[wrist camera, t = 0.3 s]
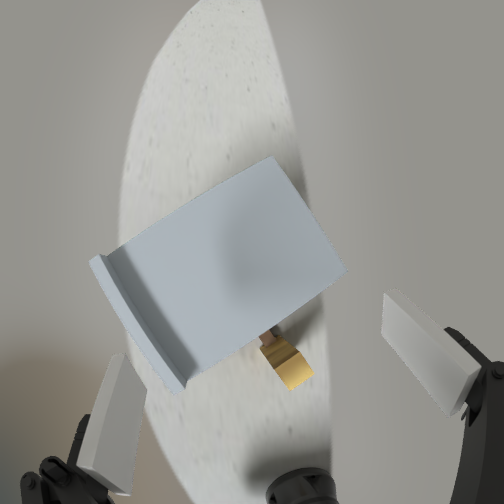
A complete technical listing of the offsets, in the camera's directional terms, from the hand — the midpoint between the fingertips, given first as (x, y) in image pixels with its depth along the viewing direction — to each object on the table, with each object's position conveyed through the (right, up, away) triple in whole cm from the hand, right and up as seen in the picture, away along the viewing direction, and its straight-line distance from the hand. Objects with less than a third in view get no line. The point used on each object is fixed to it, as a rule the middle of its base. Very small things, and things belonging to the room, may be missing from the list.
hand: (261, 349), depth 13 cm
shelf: (-5, +1, +33) cm, 34 cm away
